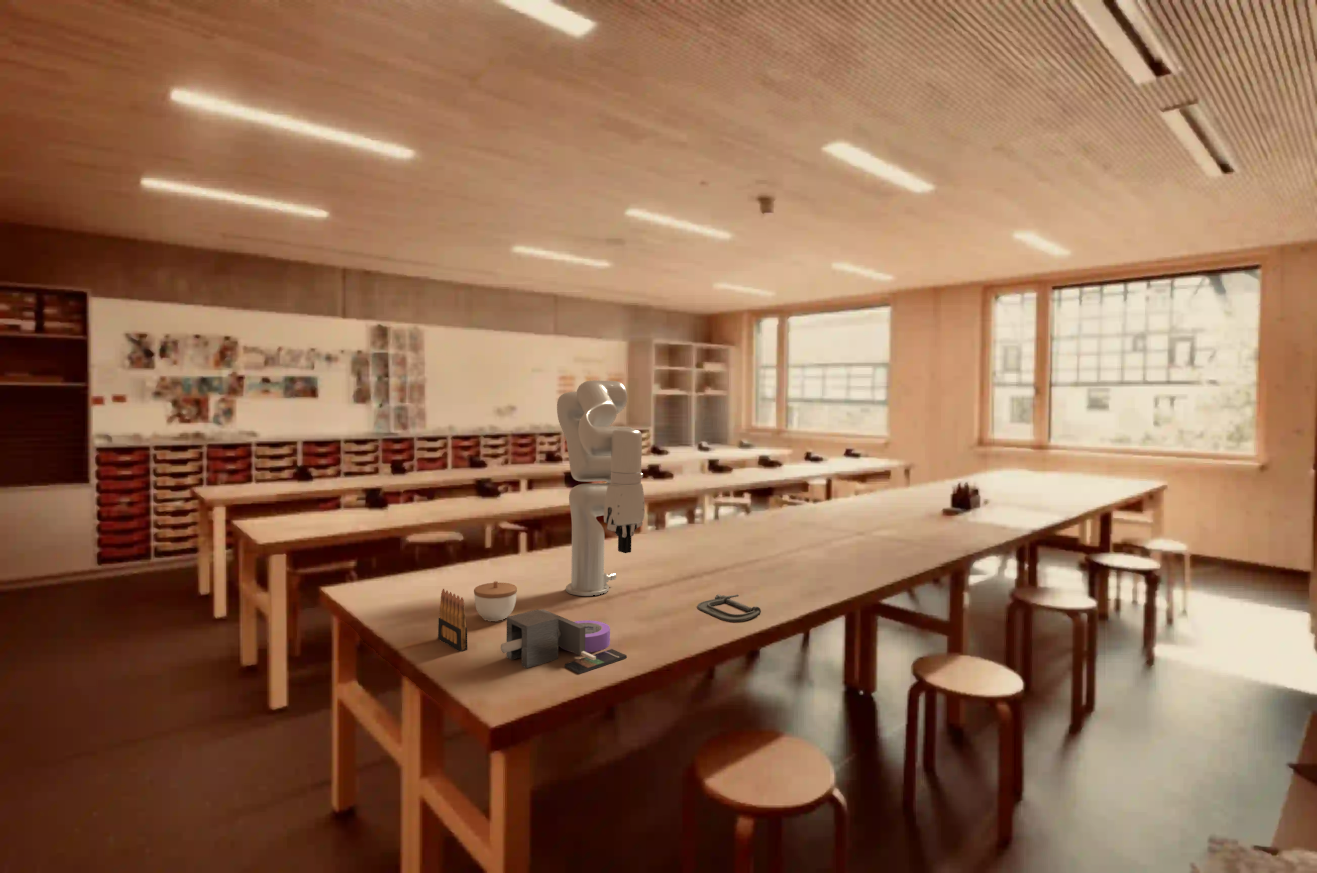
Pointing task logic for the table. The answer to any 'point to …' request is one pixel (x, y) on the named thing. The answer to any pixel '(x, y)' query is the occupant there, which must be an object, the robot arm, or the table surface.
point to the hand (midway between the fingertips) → (624, 551)
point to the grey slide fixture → (547, 642)
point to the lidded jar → (495, 600)
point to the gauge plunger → (560, 638)
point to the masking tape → (595, 635)
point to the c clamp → (725, 616)
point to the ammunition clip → (452, 621)
